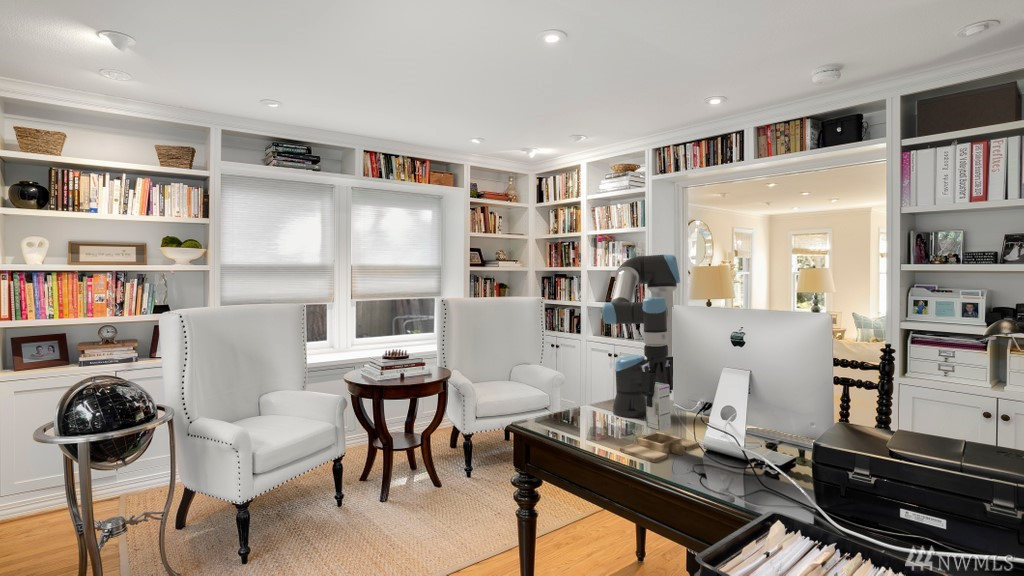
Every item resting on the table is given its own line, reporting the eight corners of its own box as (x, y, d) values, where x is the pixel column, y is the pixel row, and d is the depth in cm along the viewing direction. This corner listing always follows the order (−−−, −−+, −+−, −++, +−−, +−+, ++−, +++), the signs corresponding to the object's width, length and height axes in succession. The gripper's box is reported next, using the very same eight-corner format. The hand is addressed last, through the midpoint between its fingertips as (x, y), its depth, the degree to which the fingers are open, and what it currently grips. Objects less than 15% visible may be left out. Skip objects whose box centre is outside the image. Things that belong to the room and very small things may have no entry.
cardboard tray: (615, 450, 177) (615, 439, 177) (660, 435, 190) (659, 425, 190) (658, 464, 163) (658, 452, 163) (703, 447, 176) (703, 436, 176)
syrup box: (671, 427, 175) (670, 383, 175) (659, 431, 172) (658, 386, 172) (657, 424, 180) (656, 381, 180) (645, 427, 177) (644, 383, 177)
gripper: (645, 348, 167) (648, 422, 168) (683, 342, 178) (685, 411, 179) (627, 346, 173) (630, 417, 174) (665, 340, 184) (667, 407, 185)
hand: (658, 414), depth 176 cm, fingers closed on syrup box, 6 cm apart
